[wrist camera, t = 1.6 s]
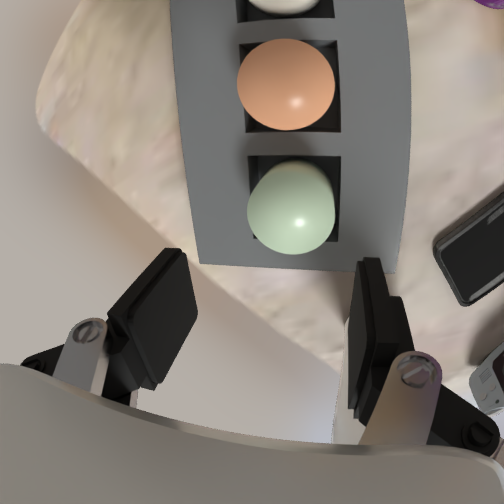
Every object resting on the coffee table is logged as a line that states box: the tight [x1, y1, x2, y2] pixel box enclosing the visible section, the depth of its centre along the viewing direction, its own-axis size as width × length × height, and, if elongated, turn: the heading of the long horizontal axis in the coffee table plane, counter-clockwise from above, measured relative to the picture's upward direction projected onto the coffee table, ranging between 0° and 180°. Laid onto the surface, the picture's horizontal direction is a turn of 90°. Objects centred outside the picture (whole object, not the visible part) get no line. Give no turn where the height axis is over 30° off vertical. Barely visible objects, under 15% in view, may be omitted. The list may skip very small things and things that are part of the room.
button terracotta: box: [237, 39, 335, 130], centre depth 15 cm, size 5×5×4 cm
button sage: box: [247, 158, 335, 254], centre depth 18 cm, size 5×5×4 cm
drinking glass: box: [331, 317, 366, 445], centre depth 20 cm, size 7×7×15 cm
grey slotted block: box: [170, 0, 411, 274], centre depth 17 cm, size 24×14×4 cm, turn 4°
